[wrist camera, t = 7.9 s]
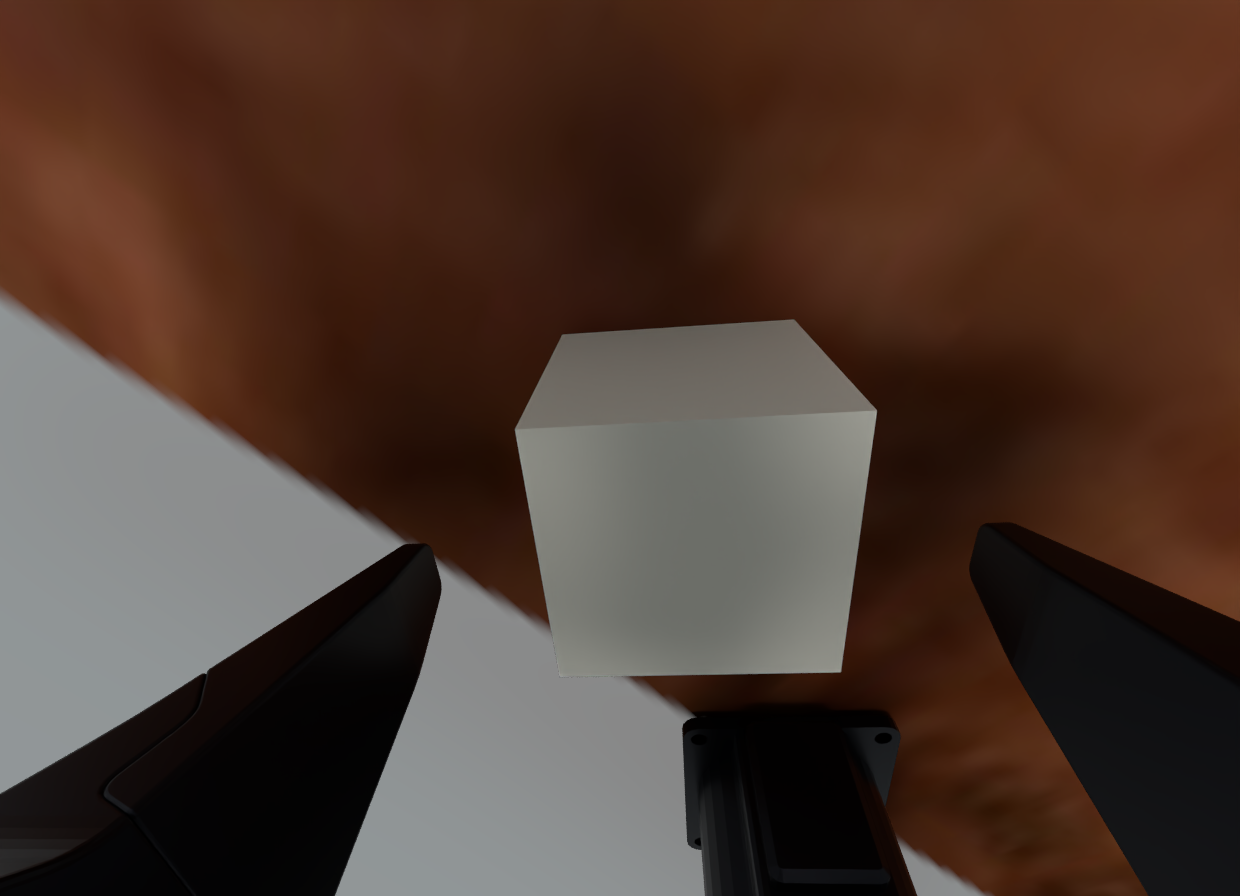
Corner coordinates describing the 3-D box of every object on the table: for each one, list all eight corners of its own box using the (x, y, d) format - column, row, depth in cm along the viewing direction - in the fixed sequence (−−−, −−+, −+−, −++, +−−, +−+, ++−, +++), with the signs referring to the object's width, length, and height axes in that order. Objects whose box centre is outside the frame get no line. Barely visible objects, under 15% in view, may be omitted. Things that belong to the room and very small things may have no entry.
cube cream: (781, 513, 14) (840, 672, 10) (586, 521, 15) (559, 677, 10) (793, 318, 12) (876, 410, 8) (562, 333, 12) (514, 429, 8)
